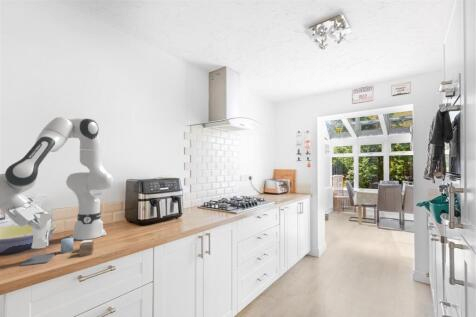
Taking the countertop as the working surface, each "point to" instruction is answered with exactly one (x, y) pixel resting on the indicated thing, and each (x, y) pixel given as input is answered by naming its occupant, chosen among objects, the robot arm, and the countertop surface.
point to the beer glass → (42, 230)
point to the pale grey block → (86, 241)
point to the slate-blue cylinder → (67, 245)
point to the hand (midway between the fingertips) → (43, 226)
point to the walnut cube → (86, 248)
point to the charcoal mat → (38, 259)
